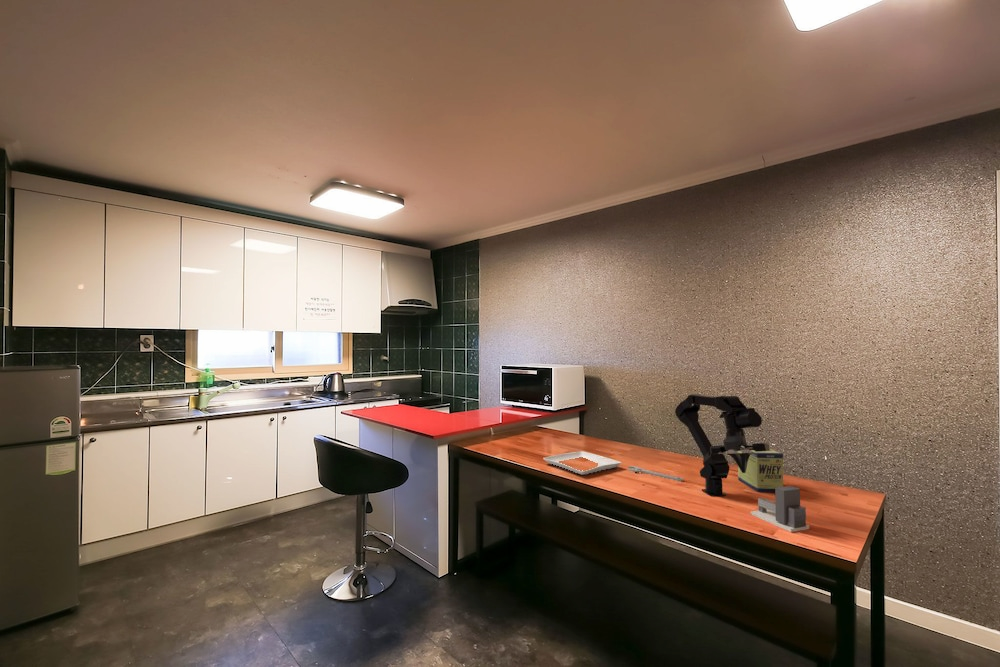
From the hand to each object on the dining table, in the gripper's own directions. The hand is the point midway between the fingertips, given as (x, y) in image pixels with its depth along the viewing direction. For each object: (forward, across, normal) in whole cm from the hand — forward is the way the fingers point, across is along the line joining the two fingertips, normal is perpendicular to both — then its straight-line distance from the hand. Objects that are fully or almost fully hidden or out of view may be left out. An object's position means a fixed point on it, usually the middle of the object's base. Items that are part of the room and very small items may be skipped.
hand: (743, 472), depth 152 cm
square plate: (-3, -72, 0) cm, 72 cm away
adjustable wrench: (+2, -42, +13) cm, 44 cm away
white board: (+15, +8, -3) cm, 18 cm away
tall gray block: (+15, +12, -5) cm, 20 cm away
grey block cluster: (+14, +9, -4) cm, 17 cm away
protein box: (+8, -5, +32) cm, 34 cm away
